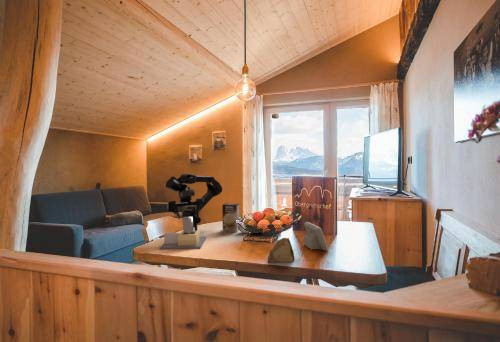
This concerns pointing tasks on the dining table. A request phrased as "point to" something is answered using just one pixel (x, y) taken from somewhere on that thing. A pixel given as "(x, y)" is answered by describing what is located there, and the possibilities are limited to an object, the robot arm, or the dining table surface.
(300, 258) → the dining table surface
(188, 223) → the hinge pin
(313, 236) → the grey angular slab
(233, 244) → the dining table surface
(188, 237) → the grey plate with frame
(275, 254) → the rock
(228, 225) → the coffee box
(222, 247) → the dining table surface
